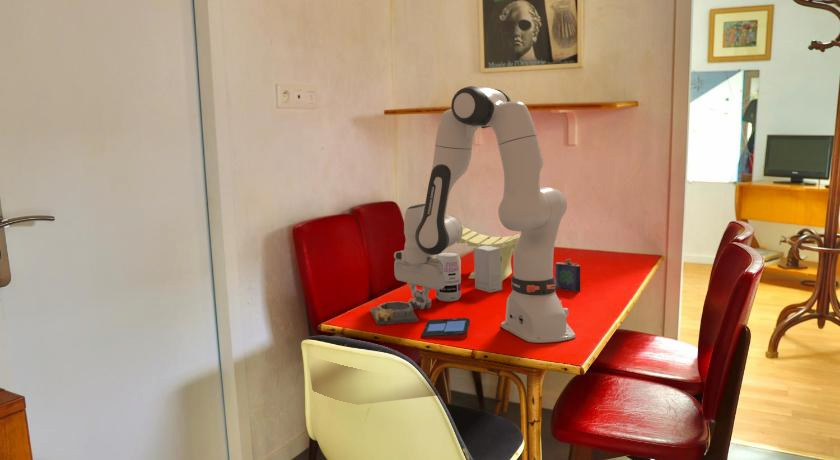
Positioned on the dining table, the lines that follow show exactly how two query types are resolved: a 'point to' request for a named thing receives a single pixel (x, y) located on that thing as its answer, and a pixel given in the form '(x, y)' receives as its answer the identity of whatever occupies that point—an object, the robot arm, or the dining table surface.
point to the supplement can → (450, 276)
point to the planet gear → (420, 301)
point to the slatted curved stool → (503, 243)
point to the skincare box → (487, 268)
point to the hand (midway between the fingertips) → (419, 298)
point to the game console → (446, 328)
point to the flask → (567, 276)
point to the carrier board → (393, 313)
